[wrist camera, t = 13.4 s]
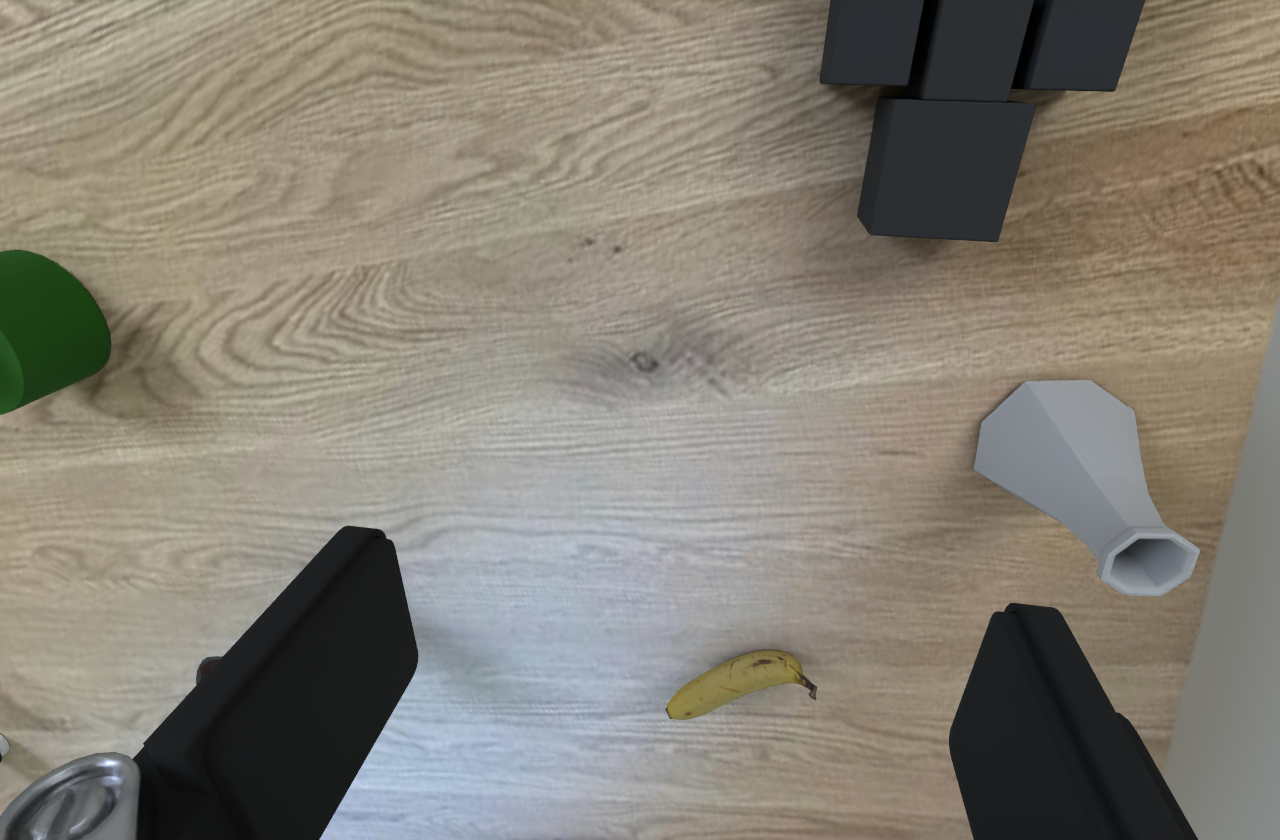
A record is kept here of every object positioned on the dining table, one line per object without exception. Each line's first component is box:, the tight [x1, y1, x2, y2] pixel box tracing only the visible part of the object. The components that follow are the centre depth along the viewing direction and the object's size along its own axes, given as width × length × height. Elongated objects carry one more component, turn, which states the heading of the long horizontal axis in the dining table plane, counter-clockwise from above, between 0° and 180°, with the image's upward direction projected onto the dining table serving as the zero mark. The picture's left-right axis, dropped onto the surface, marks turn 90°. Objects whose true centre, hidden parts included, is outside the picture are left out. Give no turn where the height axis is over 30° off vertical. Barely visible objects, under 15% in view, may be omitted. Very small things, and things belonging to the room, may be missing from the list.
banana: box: [666, 650, 817, 720], centre depth 43 cm, size 10×2×4 cm, turn 114°
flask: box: [974, 380, 1200, 596], centre depth 29 cm, size 7×7×10 cm
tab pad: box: [857, 0, 1036, 242], centre depth 26 cm, size 9×5×4 cm, turn 179°
